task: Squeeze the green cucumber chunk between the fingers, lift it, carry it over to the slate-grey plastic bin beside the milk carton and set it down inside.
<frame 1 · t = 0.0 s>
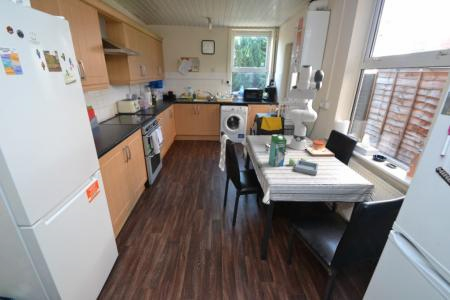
hand: (300, 104, 170), 48 cm above the table, fingers open, 8 cm apart
milk carton: (275, 164, 173), on the table
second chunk: (302, 163, 177), on the table
cucumber chunk: (291, 165, 173), on the table
bin: (306, 169, 166), on the table
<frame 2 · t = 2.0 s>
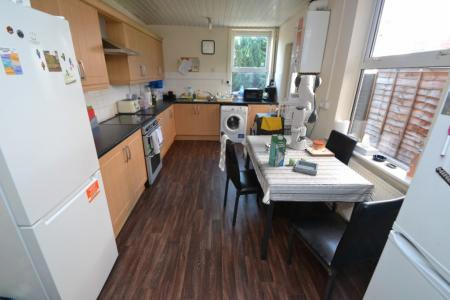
hand: (294, 144, 166), 18 cm above the table, fingers open, 8 cm apart
nothing on the table moved.
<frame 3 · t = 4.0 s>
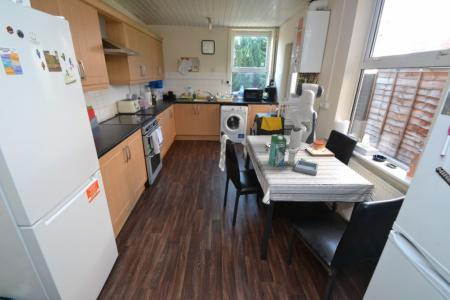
hand: (291, 163, 172), 2 cm above the table, fingers closed on cucumber chunk, 4 cm apart
cucumber chunk: (291, 165, 173), on the table, touching gripper
everything else where it was.
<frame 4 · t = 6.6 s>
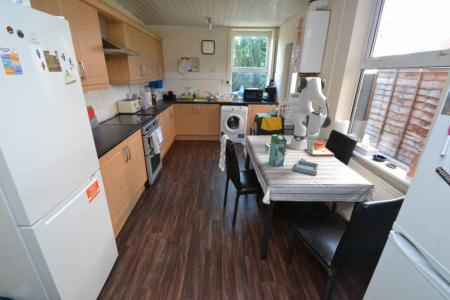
hand: (309, 150, 160), 16 cm above the table, fingers closed on cucumber chunk, 4 cm apart
cucumber chunk: (309, 152, 161), point 14 cm above the table, touching gripper
everything else where it was.
when the fingers open (4 cm above the table, at t = 9.4 s): cucumber chunk drops 2 cm, resting on bin.
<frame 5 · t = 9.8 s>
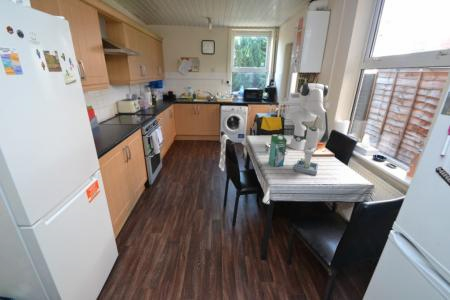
hand: (307, 164, 164), 4 cm above the table, fingers open, 8 cm apart
cucumber chunk: (306, 168, 166), point 1 cm above the table, touching bin
everything else where it was.
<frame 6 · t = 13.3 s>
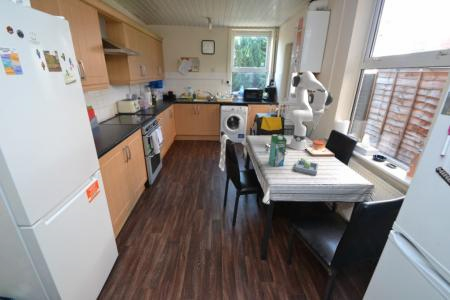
hand: (314, 127, 167), 31 cm above the table, fingers open, 8 cm apart
nothing on the table moved.
at the end: cucumber chunk inside the target area on the bin (0.2 cm from its centre), point 0.7 cm above the bin's base; the gripper is holding nothing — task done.
